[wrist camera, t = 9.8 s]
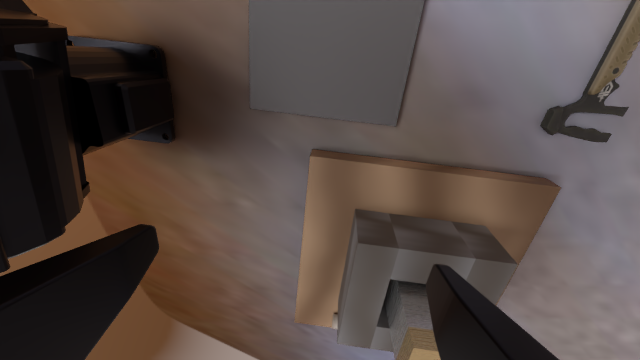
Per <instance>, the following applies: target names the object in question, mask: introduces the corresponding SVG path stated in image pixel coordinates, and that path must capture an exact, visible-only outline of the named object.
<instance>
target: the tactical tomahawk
mask: <svg viewBox="0 0 640 360" xmlns="http://www.w3.org/2000/svg"><path fill="white" fill-rule="evenodd" d="M639 41H640V0H631V2H630V4H629V6H628V8H627V10H626V12H625V14H624V16H623V18H622V20H621V22H620V23H619V25H618V27H617V29H616V31H615V33H614V35H613V37H612V39H611V41H610V43H609V45H608V46H607V48H606V50H605V52H604V54H603V56H602V58H601V60H600V62H599V64H598V66H597V67H596V69H595V71H594V73H593V75H592V77H591V79H590V81H589V83H588V85H587V87H586V89H585V90H584V92H583V97H582V98H581V99H580V100H579V101H577V102H576V103H573V104H571V105H568V106H566V107H560V106H557V107H554V108H551V109H549V110H548V111H547V113H546V115H545V117H544V119H543V121H542V123H541V125H540V126H541V127H542V128H543V129H544V130H545V131H546V132H547V133H548V134H550V135H554V134H555V133H557V132H559V133H562V134H565V135H568V136H572V137H576V138H580V139H583V140H587V141H593V142H607V141H608V139H609V138H610V136H611V134H610V133H601V132H599V131H597V130H595V129H583V128H580V127H577V126H568V127H565V126H564V123H565V121H566V119H567V118H568V117H569V116H570V115H571V114H572V113H575V112H588V113H602V114H613V115H618V116H622V117H623V115H624V114H625V112H626V111H627V109H628V108H629V107H613V106H605V105H604V101H605V99H606V98H607V97H608V96H609V95H610V94H611V93H612V92H613V91H614V90H616V89H617V88H618V87H619V84H617V83H616V82H615V78H617V77H618V76H620V75H621V73H622V72H623V70H624V68H625V66H626V65H627V61H628V60H629V59H630V58H631V56H632V52H633V51H634V50H635V49H636V47H637V46H638V44H637V43H638V42H639Z"/></svg>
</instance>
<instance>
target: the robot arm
mask: <svg viewBox="0 0 640 360" xmlns="http://www.w3.org/2000/svg"><path fill="white" fill-rule="evenodd" d="M72 42H73V43H74V46H73V45H72ZM154 50H155V51H156V53H157V57H155V56H154V54H153V51H154ZM173 118H174V113H173V105H172V97H171V90H170V83H169V81H168V78H167V70H166V62H165V55H164V52H163V50H162V49H161V48H160V47H159V46H155V45H146V44H138V43H129V42H121V41H112V40H103V39H95V38H86V37H78V36H68V34H67V27H64V26H60V25H57V24H53V23H49V22H48V20H47V19H44V18H41V17H38V16H37V14H35V13H33V12H32V11H31V10H30V9H29V8H28V6H27V5H26V4H25V3H24V2H23V1H22V0H0V273H1V272H4V271H7V270H8V269H9V268H10V264H9V261H8V259H9V258H12V257H16V256H18V255H21V254H23V253H26V252H28V251H30V250H33V249H36V248H38V247H41V246H43V245H45V244H47V243H49V242H50V241H52V240H54V239H56V238H57V237H59V236H61V235H62V234H63V233H64V232H65V230H66V229H65V226H66V225H67V224H68V223H69V222H70V221H71V220H72V219H73V218H74V217H75V216H76V215H77V214H78V213H80V210H81V208H82V204H83V199H84V198H85V197H86V195H87V194H88V193H89V192H90V186H89V182H87V181H86V175H85V168H84V162H83V155H85V154H88V153H90V152H93V151H96V150H98V149H101V148H104V147H106V146H109V145H111V144H114V143H117V142H119V141H122V140H124V139H127V138H128V139H135V140H143V141H151V142H159V143H170V142H172V141H174V140H175V130H174V123H173ZM165 134H167V135H168V136H169V138H167V137H166V136H165ZM158 250H159V243H158V238H157V233H156V229H155V227H154V226H152V225H145V224H139V225H136V226H134V227H131V228H128V229H126V230H123V231H120V232H118V233H115V234H112V235H110V236H107V237H104V238H102V239H99V240H96V241H94V242H91V243H88V244H86V245H83V246H80V247H78V248H75V249H72V250H70V251H67V252H64V253H62V254H59V255H56V256H54V257H51V258H48V259H46V260H43V261H40V262H37V263H35V264H32V265H29V266H27V267H24V268H21V269H19V270H16V271H13V272H11V273H8V274H5V275H3V276H0V360H85V359H86V357H87V356H88V354H89V353H90V352H91V350H92V349H93V348H94V346H95V345H96V344H97V342H98V341H99V340H100V338H101V337H102V335H103V334H104V333H105V331H106V330H107V329H108V327H109V326H110V324H111V323H112V322H113V321H114V319H115V318H116V316H117V315H118V314H119V312H120V311H121V309H122V308H123V307H124V305H125V304H126V303H127V301H128V300H129V299H130V297H131V296H132V294H133V293H134V291H135V290H136V288H137V286H138V285H139V283H140V281H141V280H142V278H143V276H144V275H145V273H146V271H147V270H148V268H149V266H150V265H151V263H152V261H153V260H154V258H155V256H156V255H157V253H158ZM426 292H427V298H428V304H429V310H430V315H431V321H432V327H433V332H434V337H435V341H436V345H437V349H438V352H439V356H440V359H441V360H559V359H558V358H557V357H555V356H554V355H553V354H552V353H551V352H549V351H548V350H547V349H546V348H545V347H544V346H542V345H541V344H540V343H539V342H538V341H537V340H535V339H534V338H533V337H532V336H531V335H530V334H528V333H527V332H526V331H525V330H524V329H522V328H521V327H520V326H519V325H518V324H517V323H515V322H514V321H513V320H512V319H511V318H510V317H508V316H507V315H506V314H505V313H504V312H503V311H501V310H500V309H499V308H498V307H497V306H495V305H494V304H493V303H492V302H491V301H490V300H488V299H487V298H486V297H485V296H484V295H483V294H481V293H480V292H479V291H478V290H477V289H476V288H474V287H473V286H472V285H471V284H470V283H468V282H467V281H466V280H465V279H464V278H463V277H461V276H460V275H459V274H458V273H457V272H456V271H454V270H453V269H452V268H451V267H450V266H448V265H444V264H434V265H433V267H432V269H431V272H430V274H429V277H428V280H427V283H426Z"/></svg>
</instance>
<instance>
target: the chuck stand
mask: <svg viewBox="0 0 640 360" xmlns="http://www.w3.org/2000/svg"><path fill="white" fill-rule="evenodd" d="M560 189H561V187H560V186H558V185H556V184H555V183H553V182H551V181H550V180H548V179H546V178H540V177H532V176H524V175H516V174H508V173H500V172H492V171H484V170H476V169H468V168H460V167H452V166H443V165H435V164H427V163H419V162H411V161H403V160H395V159H387V158H379V157H371V156H363V155H355V154H347V153H339V152H331V151H323V150H315V149H312V152H311V155H310V163H309V174H308V184H307V195H306V205H305V216H304V227H303V237H302V248H301V259H300V269H299V280H298V291H297V301H296V312H295V322H296V323H304V324H311V325H318V326H325V327H332V329H337V344H341V345H348V346H355V347H362V348H369V349H376V350H383V351H390V352H393V346H392V340H391V334H390V329H389V323H388V317H387V311H386V306H385V300H384V299H385V296H386V292H387V289H388V285H389V282H390V279H392V280H399V281H407V282H414V283H421V284H426V283H427V280H428V277H429V274H430V272H431V269H432V267H433V265H434V264H444V265H448V266H450V267H451V268H452V269H453V270H454V271H456V272H457V273H458V274H459V275H460V276H461V277H463V278H464V279H465V280H466V281H467V282H468V283H470V284H471V285H472V286H473V287H474V288H476V289H477V290H478V291H479V292H480V293H481V294H483V295H484V296H485V297H486V298H487V299H488V300H490V301H491V302H492V303H493V304H494V305H495V306H496V305H497V303H498V301H499V299H500V298H501V296H502V294H503V292H504V290H505V289H506V287H507V285H508V283H509V281H510V280H511V278H512V276H513V274H514V272H515V270H516V269H517V267H518V265H519V263H520V261H521V260H522V258H523V256H524V254H525V252H526V251H527V249H528V247H529V245H530V243H531V242H532V240H533V238H534V236H535V234H536V233H537V231H538V229H539V227H540V225H541V223H542V222H543V220H544V218H545V216H546V214H547V213H548V211H549V209H550V207H551V205H552V204H553V202H554V200H555V198H556V196H557V195H558V193H559V191H560Z"/></svg>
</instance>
